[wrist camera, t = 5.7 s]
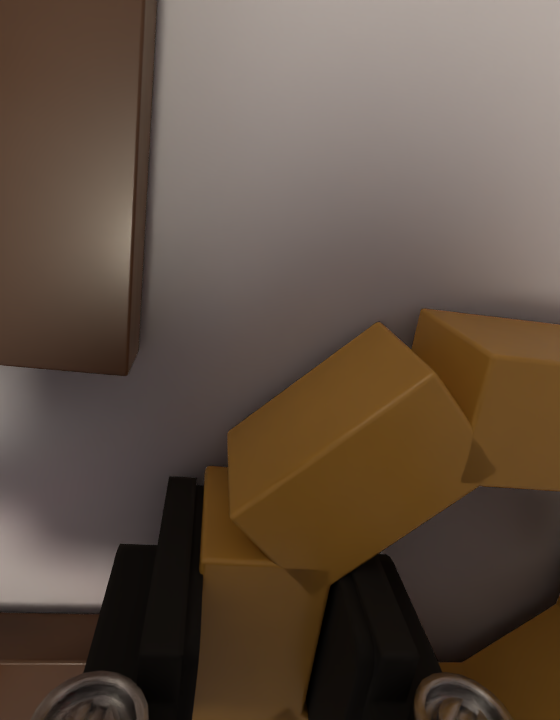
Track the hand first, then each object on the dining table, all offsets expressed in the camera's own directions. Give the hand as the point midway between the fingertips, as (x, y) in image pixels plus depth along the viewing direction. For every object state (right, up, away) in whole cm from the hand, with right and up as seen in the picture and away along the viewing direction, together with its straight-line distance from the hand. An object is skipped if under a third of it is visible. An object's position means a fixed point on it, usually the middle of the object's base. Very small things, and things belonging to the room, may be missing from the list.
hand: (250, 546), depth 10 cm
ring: (+4, 0, +1) cm, 4 cm away
